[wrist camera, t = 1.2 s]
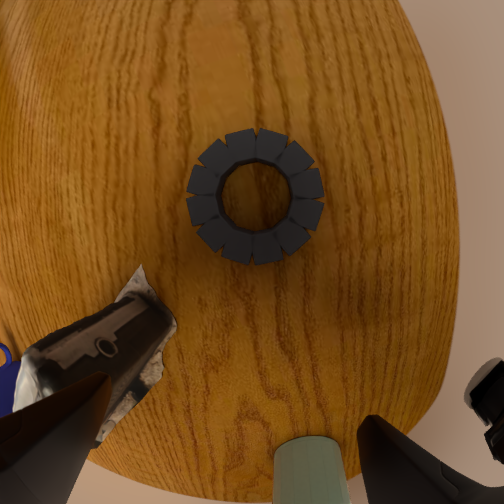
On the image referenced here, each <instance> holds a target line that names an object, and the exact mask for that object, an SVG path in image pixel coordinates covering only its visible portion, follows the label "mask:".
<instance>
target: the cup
mask: <svg viewBox="0 0 504 504" xmlns="http://www.w3.org/2000/svg"><path fill="white" fill-rule="evenodd" d="M272 504H351V499H350V494H349V488H348V483H347V478H346V473H345V468H344V464H343V459H342V454H341V451H340V447H339V445H338V443H337V442H336V441H334V440H333V439H330V438H327V437H323V436H306V437H300V438H296V439H293V440H290V441H288V442H286V443H284V444H283V445H281V446H280V447H279V448H278V449H277V450H276V451H275V453H274V461H273V487H272Z"/></svg>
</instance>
